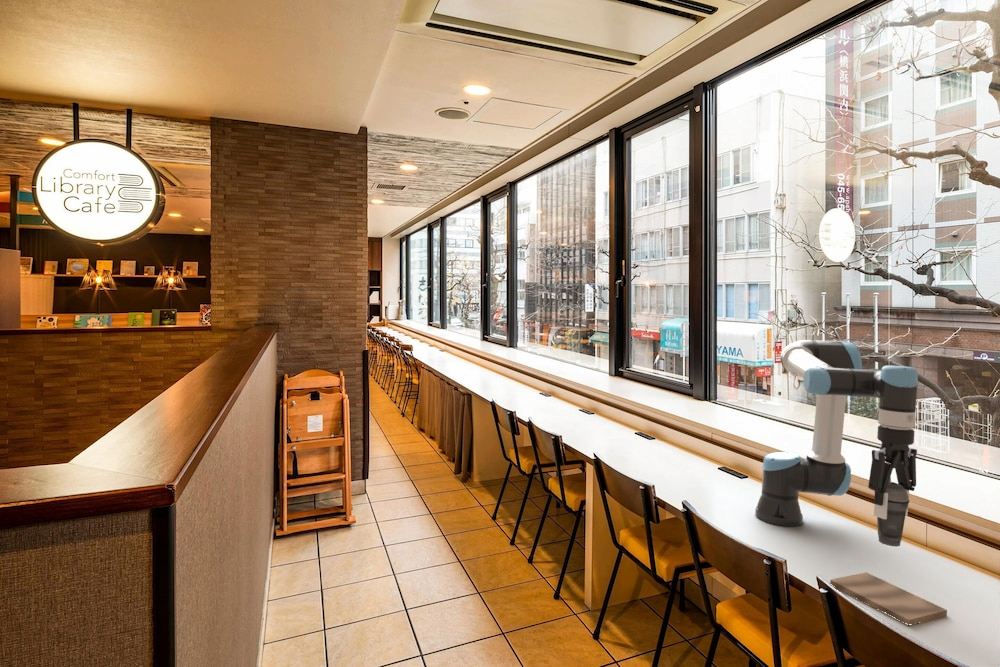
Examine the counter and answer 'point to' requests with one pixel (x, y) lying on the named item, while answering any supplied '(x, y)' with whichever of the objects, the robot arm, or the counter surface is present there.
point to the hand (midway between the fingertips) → (890, 515)
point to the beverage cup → (893, 515)
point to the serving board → (889, 598)
